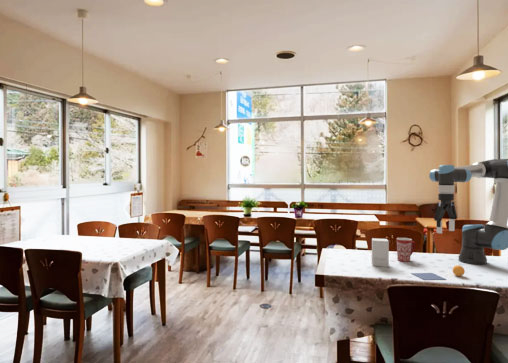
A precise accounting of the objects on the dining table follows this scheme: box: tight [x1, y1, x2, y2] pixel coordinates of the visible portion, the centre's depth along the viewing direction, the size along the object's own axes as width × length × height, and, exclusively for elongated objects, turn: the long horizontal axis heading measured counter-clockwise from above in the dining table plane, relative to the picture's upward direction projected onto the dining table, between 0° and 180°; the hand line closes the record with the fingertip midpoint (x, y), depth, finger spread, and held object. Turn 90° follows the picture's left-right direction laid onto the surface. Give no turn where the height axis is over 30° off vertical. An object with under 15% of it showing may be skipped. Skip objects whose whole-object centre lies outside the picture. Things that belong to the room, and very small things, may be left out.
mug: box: [396, 237, 416, 263], centre depth 225 cm, size 13×9×14 cm
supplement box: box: [371, 237, 390, 268], centre depth 213 cm, size 9×9×15 cm
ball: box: [452, 265, 465, 277], centre depth 190 cm, size 6×6×6 cm
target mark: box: [410, 272, 447, 281], centre depth 189 cm, size 12×12×1 cm
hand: (445, 232), depth 197 cm, fingers open, 13 cm apart
